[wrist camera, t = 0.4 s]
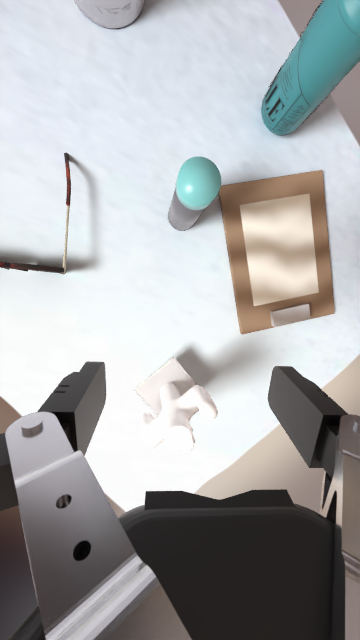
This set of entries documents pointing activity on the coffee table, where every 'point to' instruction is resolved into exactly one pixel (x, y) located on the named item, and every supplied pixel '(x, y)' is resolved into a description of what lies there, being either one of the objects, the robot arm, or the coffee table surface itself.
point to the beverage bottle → (314, 66)
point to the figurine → (172, 407)
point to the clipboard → (278, 250)
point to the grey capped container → (193, 192)
